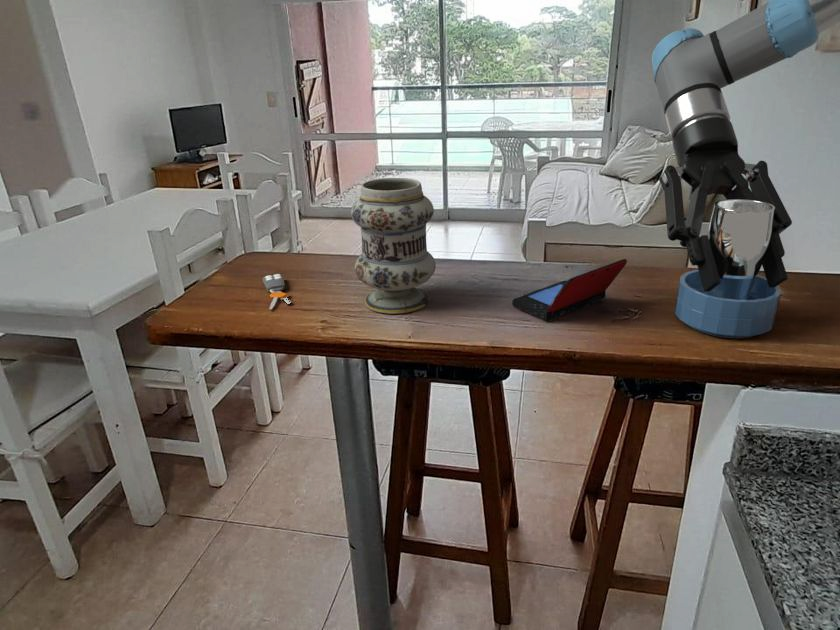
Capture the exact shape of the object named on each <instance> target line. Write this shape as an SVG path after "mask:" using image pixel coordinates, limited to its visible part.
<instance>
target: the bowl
mask: <svg viewBox="0 0 840 630" xmlns="http://www.w3.org/2000/svg"><path fill="white" fill-rule="evenodd" d="M781 295H782V289H781V286H780V284H779V285H778V286H776V287H770V288H769V286H768V282H767V279H766V276H762V275H759V274H758V275H757V277H756V280H755V282H754V284H753V287H752V290H751V293H750V298H749V300H735V299H726V298H720V297H715V296H711V295H707V294H704V289H703V285H702V282H701V278H700V274H699V270H698V269H692V270H690V271H687V272H684V273H683V274H682V275H681V276H680V277H679V283H678V290H677V296H676V302H675V311H674V314H675V316H676V317H677V318H678V319H679V320H680V321H681V322H683V323H684V324H686V325H687V326H689V328H691V329H694V330H695V331H698V332H700V333H703V334H706V335H710V336H714V337H719V338H726V339H745V338H750V337H751V338H752V337H754V336H759V335H763V334H765V333H768V332H770V331H771V330H772V328H773V327H774V325H775V321H776V316H777V312H778V308H779V304H780V299H781Z"/></svg>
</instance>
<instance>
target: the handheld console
mask: <svg viewBox="0 0 840 630" xmlns="http://www.w3.org/2000/svg"><path fill="white" fill-rule="evenodd" d="M627 263H628V259H626V258H623V259H619V260H617V261H615V262H612V263H609V264H606V265H604V266H600V267H598V268H595V269H592V270H589V271H587V272H584V273H581V274H577V275H576V276H573V277H571V278H569V279H567V280H562V281H559V282H555V283H553V284H550V285H548V286H547V285H546V286H545V287H541V288H539V289H536V290H534V291H531V292H527V293H526V294H523V295H520V296H517V297H515V298H513V299H512V303H511V304H512V306H513V307H514V308H516V309H518V310H521V311H522V312H525V313H526V314H529V315H532V316H534V317H535V318H538V319H541V320H543V321H544V322H550V321H554V319H555V320H556V319H557V318H560V317H562V316H564V315H567V314H569V313H571V312H573V311H574V310H577V309H581V308H584V307H587V306H589V305H592V304H594V303H597V302H600V301H602V300H604V299H605V298H606V291H607V290H608V288H609V287H610V286H611V284H613V282H614V280H615V279H616V278H617V276H619V274H620V273H621V271H622V270H623V269H624V268H625V266H626V265H627Z"/></svg>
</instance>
